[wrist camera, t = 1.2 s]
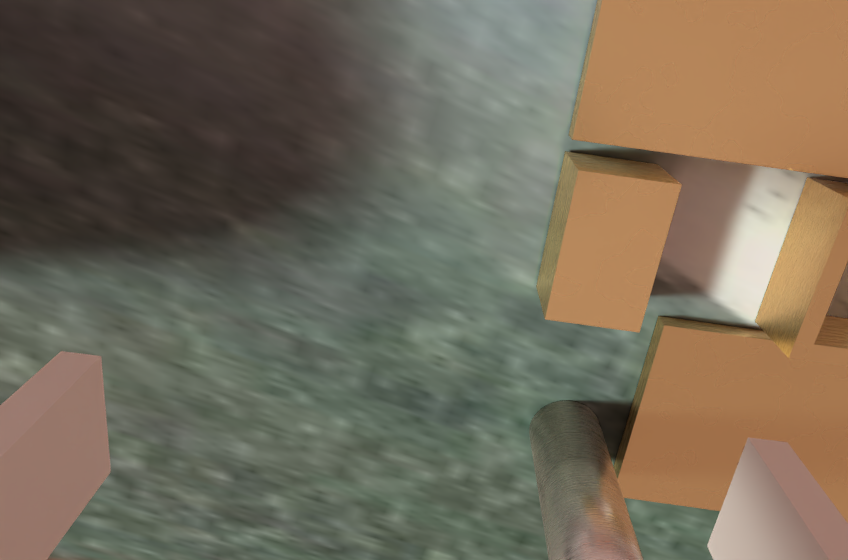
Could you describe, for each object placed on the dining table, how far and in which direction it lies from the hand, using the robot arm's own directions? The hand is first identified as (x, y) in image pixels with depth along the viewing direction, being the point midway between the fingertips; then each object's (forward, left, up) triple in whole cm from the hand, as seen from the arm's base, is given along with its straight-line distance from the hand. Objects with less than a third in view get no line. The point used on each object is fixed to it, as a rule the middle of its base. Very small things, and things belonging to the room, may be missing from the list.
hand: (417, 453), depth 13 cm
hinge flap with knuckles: (+13, +5, -18) cm, 23 cm away
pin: (+8, -11, -18) cm, 23 cm away
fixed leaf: (+19, -6, -18) cm, 27 cm away
